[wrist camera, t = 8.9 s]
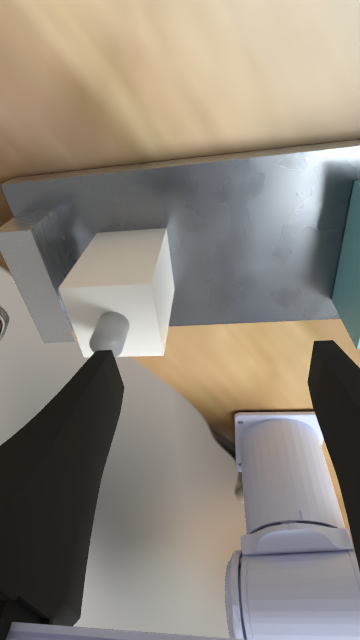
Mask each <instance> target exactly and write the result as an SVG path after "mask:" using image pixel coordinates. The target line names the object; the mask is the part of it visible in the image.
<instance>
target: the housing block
mask: <svg viewBox="0 0 360 640" xmlns="http://www.w3.org/2000/svg"><path fill="white" fill-rule="evenodd" d="M58 289H59V292H60V295H61V297H62V300H63V303H64V305H65V308H66V311H67V313H68V316H69V319H70V321H71V324H72V327H73V329H74V332H75V335H76V337H77V340H78V342H79V345H80V348H81V350H82V353H83V356H84V357H91V356H92V355H93V354H94V353H95V351H97V350H112V352H113V355H114V358H115V357H120V356H121V357H122V356H164V350H165V344H166V338H167V332H168V326H169V320H170V314H171V308H172V302H173V296H174V290H175V289H174V281H173V274H172V266H171V258H170V251H169V243H168V235H167V228H159V229H145V230H131V231H116V232H102V233H97V234H96V235H95V236H94V238H93V239H92V241H91V242H90V244H89V245H88V247H87V248H86V249H85V251H84V252H83V254H82V255H81V257H80V258H79V259H78V261H77V262H76V264H75V265H74V267H73V268H72V269H71V271H70V272H69V274H68V275H67V277H66V278H65V279H64V281H63V282H62V284H61V285H60V287H59V288H58Z"/></svg>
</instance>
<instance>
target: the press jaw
mask: <svg viewBox="0 0 360 640" xmlns="http://www.w3.org/2000/svg"><path fill="white" fill-rule="evenodd" d="M332 302H333V304H334V306H335V308H336V310H337V312H338V314H339V316H340V318H341V320H342V322H343V324H344V326H345V327H346V329H347V331H348V333H349V335H350V337H351V339H352V341H353V343H354V345H355V347H356V349H360V180H357V181H354V185H353V190H352V195H351V200H350V206H349V211H348V216H347V222H346V227H345V232H344V237H343V243H342V248H341V253H340V259H339V264H338V269H337V274H336V280H335V285H334V290H333V296H332Z"/></svg>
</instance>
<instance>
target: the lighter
mask: <svg viewBox="0 0 360 640" xmlns="http://www.w3.org/2000/svg"><path fill="white" fill-rule="evenodd" d="M9 319H10V318H9V314H8V312H7V311H6V310H5V309H4V308H3V307H2V306H1V305H0V340H1V339H2V337H3V335H4V334H5V331H6V329H7V326H8V323H9Z"/></svg>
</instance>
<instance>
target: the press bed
mask: <svg viewBox="0 0 360 640" xmlns="http://www.w3.org/2000/svg"><path fill="white" fill-rule="evenodd" d="M357 180H360V139H358V140H349V141H340V142H331V143H322V144H313V145H304V146H295V147H286V148H277V149H268V150H259V151H250V152H241V153H232V154H223V155H214V156H205V157H196V158H186V159H177V160H168V161H159V162H150V163H141V164H132V165H123V166H114V167H105V168H96V169H87V170H78V171H69V172H60V173H51V174H42V175H33V176H24V177H15V178H12V179H10V180H8V181H7V182H5V183H3V184H1V188H2V190H3V193H4V195H5V197H6V200H7V202H8V204H9V207H10V209H11V212H12V214H13V216H14V217H13V218H12V219H10V220H9V221H8V222H6V223H5V224H4V225H2V226H1V227H0V251H1V253H2V256H3V258H4V260H5V262H6V264H7V266H8V268H9V270H10V272H11V275H12V277H13V279H14V281H15V283H16V285H17V287H18V289H19V291H20V293H21V296H22V297H23V300H24V302H25V304H26V306H27V308H28V310H29V312H30V315H31V317H32V319H33V321H34V323H35V325H36V327H37V329H38V331H39V333H40V336H41V338H42V340H43V342H44V343H47V342H48V343H49V342H74V341H76V339H77V337H76V335H75V332H74V329H73V327H72V324H71V321H70V319H69V316H68V313H67V311H66V308H65V305H64V303H63V300H62V297H61V295H60V292H59V289H58V288H59V287H60V285H61V284H62V282H63V281H64V279H65V278H66V277H67V275H68V274H69V272H70V271H71V269H72V268H73V267H74V265H75V264H76V262H77V261H78V259H79V258H80V257H81V255H82V254H83V252H84V251H85V249H86V248H87V247H88V245H89V244H90V242H91V241H92V239H93V238H94V236H95V235H96V234H97V233H102V232H116V231H131V230H145V229H159V228H167V235H168V243H169V251H170V258H171V266H172V274H173V281H174V289H175V290H174V296H173V302H172V308H171V314H170V320H169V326H189V325H211V324H234V323H256V322H278V321H300V320H323V319H341V318H340V316H339V314H338V312H337V310H336V308H335V306H334V304H333V302H332V296H333V290H334V285H335V280H336V274H337V269H338V264H339V259H340V253H341V248H342V243H343V237H344V232H345V227H346V222H347V216H348V211H349V206H350V200H351V195H352V190H353V185H354V181H357Z"/></svg>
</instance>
